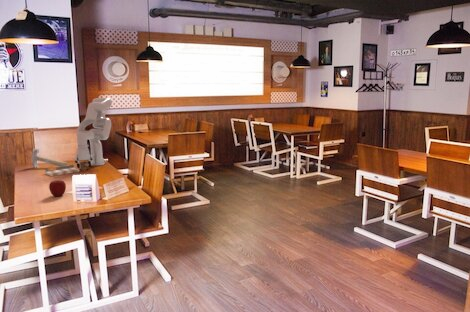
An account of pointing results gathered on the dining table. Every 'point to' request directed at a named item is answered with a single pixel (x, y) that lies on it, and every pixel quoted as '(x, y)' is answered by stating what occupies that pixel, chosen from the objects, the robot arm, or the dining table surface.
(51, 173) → the board
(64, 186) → the apple
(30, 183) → the dining table surface
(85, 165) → the brown block with stick
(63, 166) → the rail
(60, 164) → the hammer
